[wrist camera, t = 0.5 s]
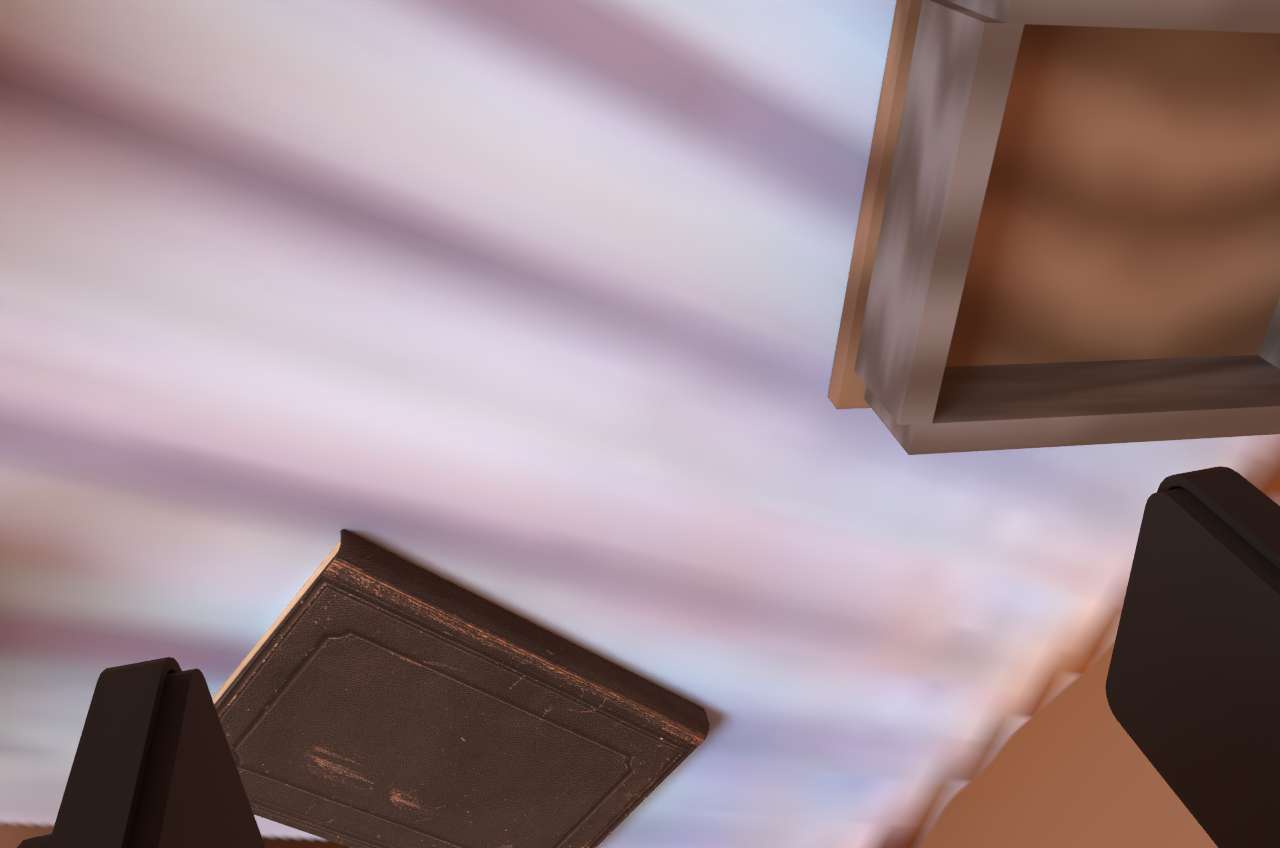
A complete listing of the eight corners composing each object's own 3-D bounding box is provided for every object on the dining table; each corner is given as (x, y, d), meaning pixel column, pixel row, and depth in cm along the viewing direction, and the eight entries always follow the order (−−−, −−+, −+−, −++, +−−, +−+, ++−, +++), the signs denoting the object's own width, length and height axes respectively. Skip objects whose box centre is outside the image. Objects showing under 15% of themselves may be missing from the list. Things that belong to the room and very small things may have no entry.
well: (908, -64, 42) (985, -41, 37) (1424, -36, 47) (1556, -13, 42) (827, 396, 52) (879, 466, 47) (1261, 377, 57) (1351, 438, 52)
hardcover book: (527, 877, 65) (532, 911, 63) (162, 745, 55) (154, 781, 53) (702, 701, 61) (713, 731, 59) (343, 520, 50) (342, 550, 48)
